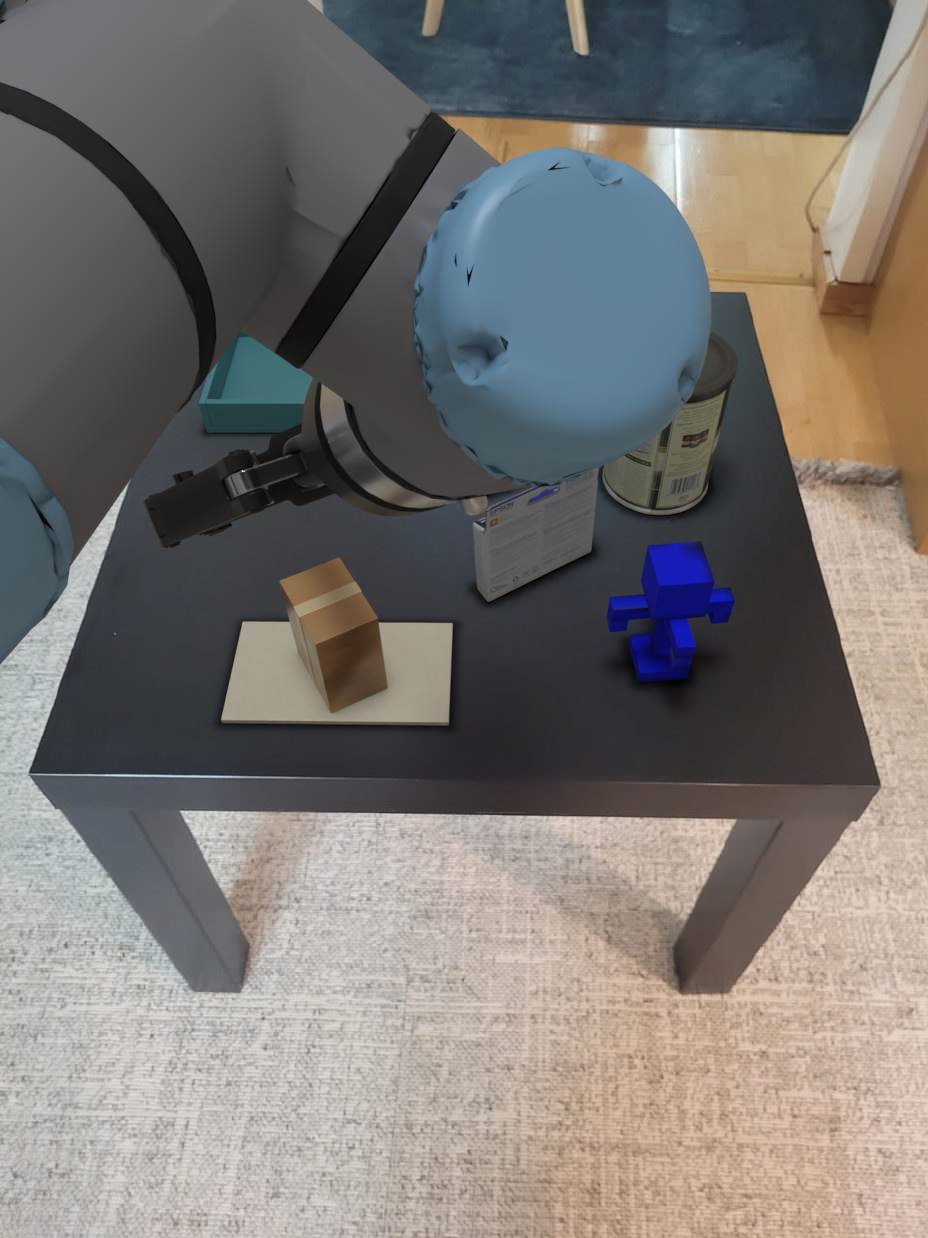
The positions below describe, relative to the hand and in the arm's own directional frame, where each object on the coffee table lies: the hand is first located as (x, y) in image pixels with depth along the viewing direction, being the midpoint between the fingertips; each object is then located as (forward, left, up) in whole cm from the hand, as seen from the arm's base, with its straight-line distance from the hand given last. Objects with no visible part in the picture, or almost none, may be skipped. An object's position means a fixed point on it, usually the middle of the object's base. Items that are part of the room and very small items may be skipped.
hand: (315, 473), depth 56 cm
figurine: (+24, +4, -25) cm, 35 cm away
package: (-2, +3, -24) cm, 24 cm away
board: (-2, +3, -25) cm, 25 cm away
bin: (-11, +41, -25) cm, 49 cm away
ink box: (+14, +14, -25) cm, 32 cm away
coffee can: (+26, +26, -25) cm, 45 cm away
